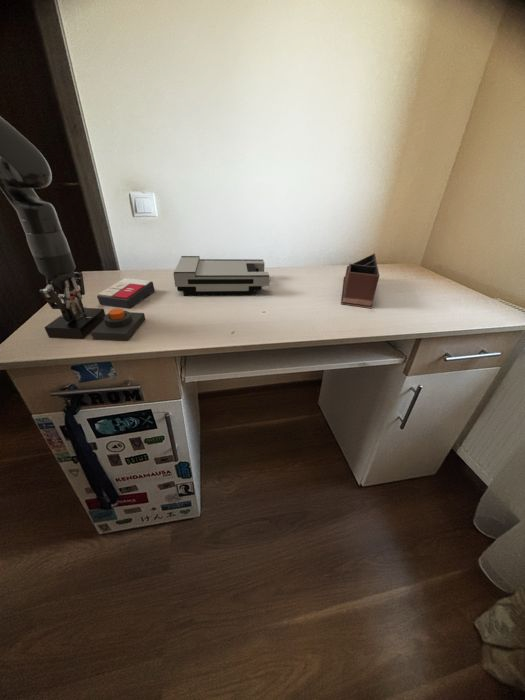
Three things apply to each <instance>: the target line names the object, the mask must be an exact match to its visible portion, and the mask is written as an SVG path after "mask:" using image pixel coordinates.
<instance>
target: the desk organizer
mask: <svg viewBox="0 0 525 700" xmlns="http://www.w3.org/2000/svg"><path fill="white" fill-rule="evenodd" d="M379 279H380V272H379V267H378V262H377V257H376V253H372V254H370V255H368V256H366V257H364V258H362V259H360V260H358V261H355V262H353V263H349V264H348V265H347V266H346V269H345V274H344V276H343V280H342V281H343V283H342V291H341V297H340V299H341V300H340V305H342V306H343V305H345V306H352V307H358V308H359V307H360V308H366V309H373V308H374V307H373V301H374V298H375V294H376V290H377V286H378V282H379Z"/></svg>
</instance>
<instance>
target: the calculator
mask: <svg viewBox="0 0 525 700" xmlns="http://www.w3.org/2000/svg"><path fill="white" fill-rule="evenodd" d="M154 292H156V289H155V286H154V281H152V280H145V279H137V278H128V277H124V278H122V279H121V280H120V281H117V282H115V283H114V284H112V285H110V286H109V287H108V288H105V289H104V290H102V291H101V292H98V294H97V295H96V297H97V300H98V303H99V305H100V306H101V305H102V306H109V307H116V308H121V309H132V308H133V307H134V306H135V305H137V304H138V303H139V302H141V301H142V300H143V299H144V298H146V297H147V296H150V295H152V294H153V293H154Z"/></svg>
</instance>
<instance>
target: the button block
mask: <svg viewBox="0 0 525 700" xmlns="http://www.w3.org/2000/svg"><path fill="white" fill-rule="evenodd" d="M124 314H125V317H124V318H121V319H116V320H113V319H110V315H109V312H108V313H105V316H104V320H103V321H102V322H101V323H100V324H99V325H98V326H97V327H96V328H95V329H94V330H93V331H91V333H90V334H91V337H92V340H97V341H99V340H100V341H117V342H128V341H130V340H131V338H132V337H133V336H134V334H135V333H136V332H137V331H138V329H139V328H140V327H141V326H142V325H143V323H144V322H145V321H146V315H145V313H144V312H131V311H128V310H124Z"/></svg>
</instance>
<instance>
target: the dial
mask: <svg viewBox="0 0 525 700" xmlns="http://www.w3.org/2000/svg"><path fill="white" fill-rule="evenodd" d="M61 302H62V303H63V304H64V300H63V299H61ZM69 305H70V307H71V310H72V312H73V315H74V318H75V320H79V319H81V318H83V317H84V313H83V310H82V308H81V305H80V302H79V299H78V298H77V297H75V296H71V297H70V299H69Z"/></svg>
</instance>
